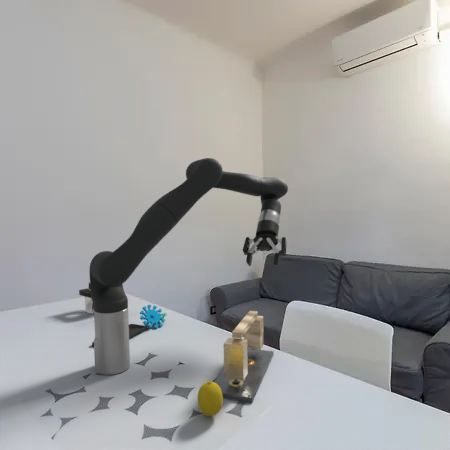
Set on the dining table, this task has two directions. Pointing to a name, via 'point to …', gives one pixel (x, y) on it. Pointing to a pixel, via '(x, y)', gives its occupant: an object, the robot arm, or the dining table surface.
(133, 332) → the smart home device
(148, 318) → the blue knobbed spoke wheel
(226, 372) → the bolt plate
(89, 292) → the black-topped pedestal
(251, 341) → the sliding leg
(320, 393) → the dining table surface
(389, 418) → the dining table surface
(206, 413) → the lemon
